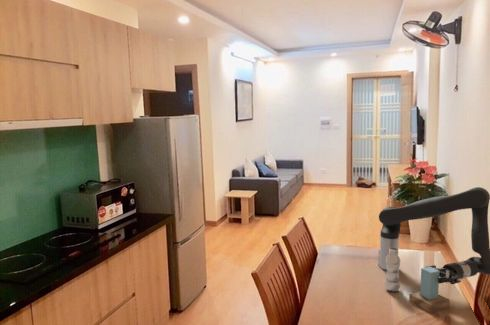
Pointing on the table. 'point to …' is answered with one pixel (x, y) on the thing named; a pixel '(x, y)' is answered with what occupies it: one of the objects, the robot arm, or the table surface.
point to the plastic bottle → (392, 270)
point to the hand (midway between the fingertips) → (430, 277)
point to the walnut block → (429, 302)
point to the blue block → (429, 283)
